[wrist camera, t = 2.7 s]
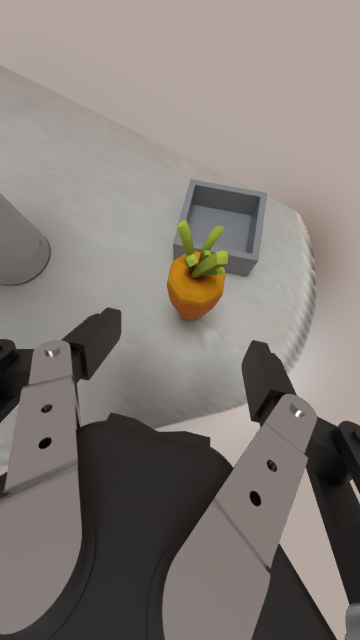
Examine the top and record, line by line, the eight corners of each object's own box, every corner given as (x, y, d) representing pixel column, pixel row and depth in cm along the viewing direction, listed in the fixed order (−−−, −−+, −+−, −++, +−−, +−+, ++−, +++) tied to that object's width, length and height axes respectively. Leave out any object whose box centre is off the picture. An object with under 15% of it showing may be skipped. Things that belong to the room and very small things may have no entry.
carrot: (167, 300, 26) (153, 211, 11) (202, 293, 26) (233, 197, 11) (175, 335, 24) (170, 287, 10) (211, 327, 25) (259, 269, 10)
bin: (174, 261, 27) (173, 243, 23) (189, 203, 30) (190, 179, 26) (246, 276, 27) (258, 260, 23) (255, 216, 29) (267, 193, 25)
